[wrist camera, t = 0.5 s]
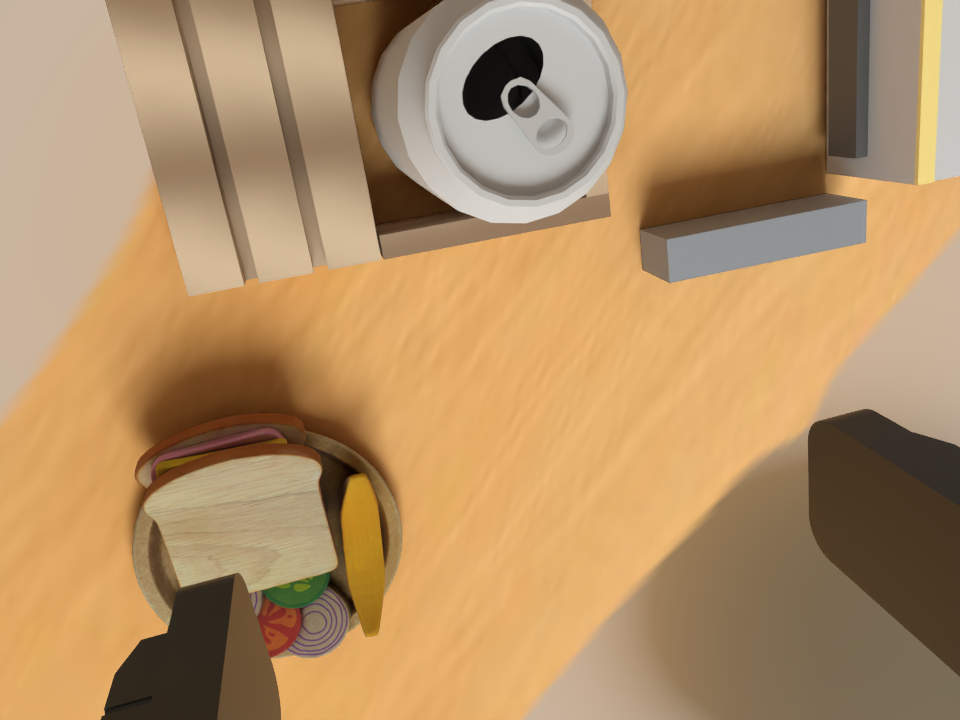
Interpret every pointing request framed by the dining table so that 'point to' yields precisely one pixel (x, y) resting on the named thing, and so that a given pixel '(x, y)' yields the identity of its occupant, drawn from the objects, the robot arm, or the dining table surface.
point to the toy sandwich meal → (269, 527)
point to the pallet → (270, 143)
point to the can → (502, 105)
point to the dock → (845, 140)
